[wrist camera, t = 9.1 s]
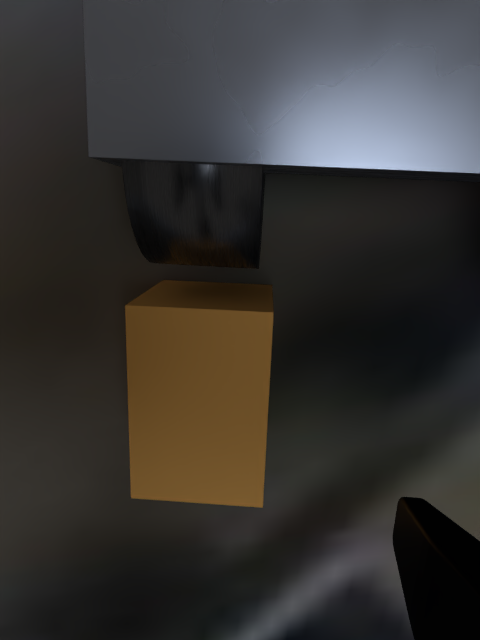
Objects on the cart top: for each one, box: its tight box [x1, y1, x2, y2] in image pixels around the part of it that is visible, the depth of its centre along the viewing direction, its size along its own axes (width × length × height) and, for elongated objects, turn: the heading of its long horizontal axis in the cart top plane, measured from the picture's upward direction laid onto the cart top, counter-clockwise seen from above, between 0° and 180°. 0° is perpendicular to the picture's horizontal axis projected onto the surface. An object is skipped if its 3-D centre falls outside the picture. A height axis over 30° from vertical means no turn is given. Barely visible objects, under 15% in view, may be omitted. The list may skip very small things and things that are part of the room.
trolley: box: [83, 0, 480, 269], centre depth 11 cm, size 13×15×6 cm
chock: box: [125, 280, 274, 508], centre depth 15 cm, size 6×4×4 cm, turn 178°
